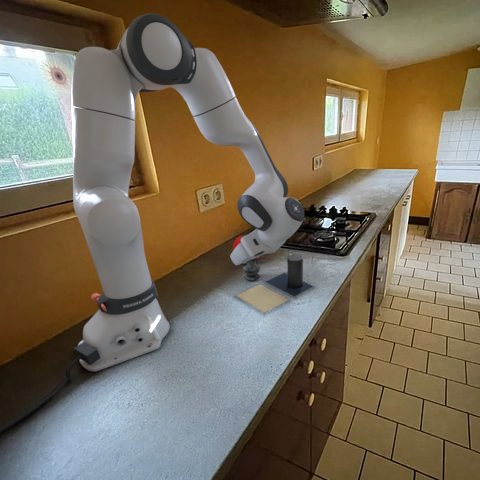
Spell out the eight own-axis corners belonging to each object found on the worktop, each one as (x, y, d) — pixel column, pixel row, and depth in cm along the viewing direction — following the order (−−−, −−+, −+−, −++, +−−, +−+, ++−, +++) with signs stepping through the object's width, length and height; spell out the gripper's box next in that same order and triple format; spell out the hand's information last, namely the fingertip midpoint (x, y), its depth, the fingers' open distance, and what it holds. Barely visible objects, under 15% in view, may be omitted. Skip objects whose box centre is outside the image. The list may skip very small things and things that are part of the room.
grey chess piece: (258, 281, 103) (256, 248, 97) (241, 279, 104) (238, 247, 98) (262, 273, 108) (260, 241, 102) (246, 272, 109) (244, 241, 103)
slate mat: (294, 297, 95) (294, 296, 94) (265, 282, 104) (265, 281, 104) (313, 287, 100) (313, 286, 100) (284, 274, 109) (284, 272, 109)
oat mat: (264, 314, 87) (264, 312, 87) (236, 296, 97) (235, 295, 96) (288, 300, 93) (288, 299, 93) (259, 285, 103) (259, 284, 102)
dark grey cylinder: (295, 290, 98) (295, 262, 93) (284, 284, 101) (284, 257, 97) (305, 284, 101) (306, 257, 96) (295, 279, 104) (295, 253, 99)
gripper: (286, 222, 99) (266, 242, 110) (237, 238, 87) (221, 260, 97) (296, 237, 98) (275, 257, 109) (248, 257, 86) (231, 277, 96)
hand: (249, 259), depth 103 cm, fingers closed on grey chess piece, 3 cm apart
